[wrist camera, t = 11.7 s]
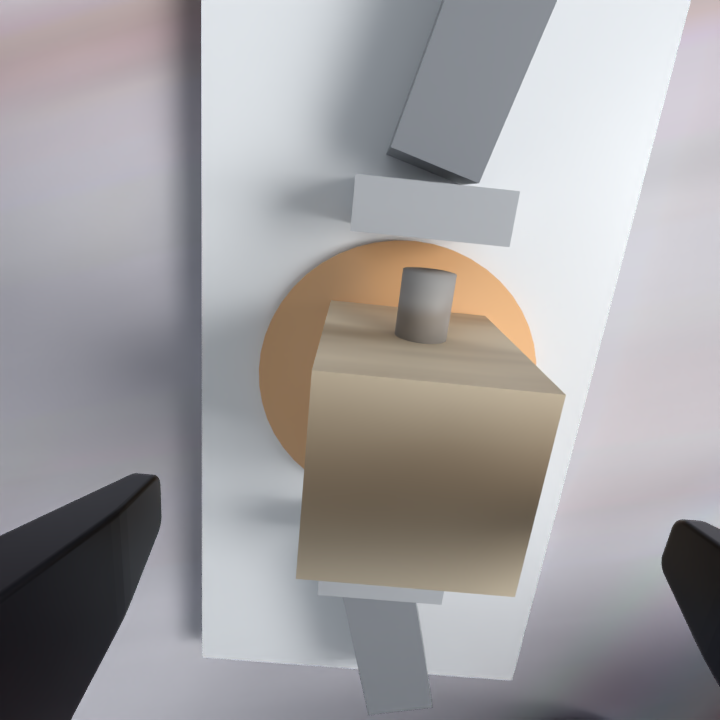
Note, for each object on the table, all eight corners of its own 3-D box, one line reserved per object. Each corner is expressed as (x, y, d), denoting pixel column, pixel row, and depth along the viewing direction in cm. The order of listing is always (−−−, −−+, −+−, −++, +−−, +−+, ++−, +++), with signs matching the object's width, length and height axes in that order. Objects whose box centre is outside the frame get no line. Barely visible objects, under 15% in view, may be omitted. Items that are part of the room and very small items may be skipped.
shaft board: (505, 658, 20) (538, 764, 17) (209, 635, 20) (174, 739, 16) (683, -50, 13) (819, -151, 9) (213, -107, 12) (148, -239, 9)
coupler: (452, 492, 16) (500, 652, 11) (315, 480, 16) (291, 635, 11) (494, 264, 14) (586, 312, 8) (335, 247, 14) (318, 285, 8)
